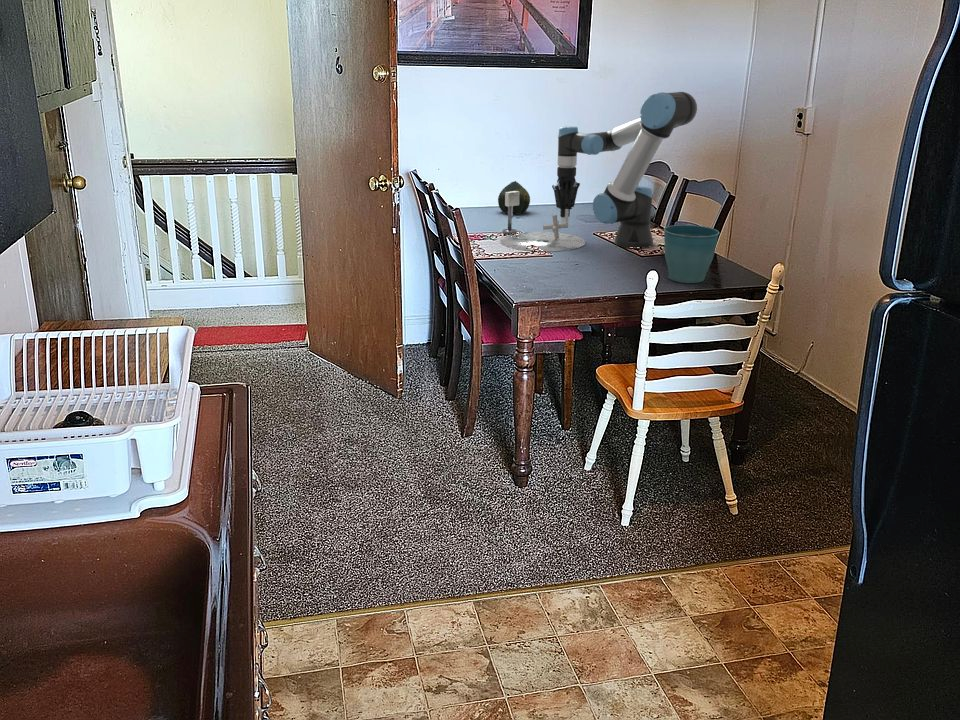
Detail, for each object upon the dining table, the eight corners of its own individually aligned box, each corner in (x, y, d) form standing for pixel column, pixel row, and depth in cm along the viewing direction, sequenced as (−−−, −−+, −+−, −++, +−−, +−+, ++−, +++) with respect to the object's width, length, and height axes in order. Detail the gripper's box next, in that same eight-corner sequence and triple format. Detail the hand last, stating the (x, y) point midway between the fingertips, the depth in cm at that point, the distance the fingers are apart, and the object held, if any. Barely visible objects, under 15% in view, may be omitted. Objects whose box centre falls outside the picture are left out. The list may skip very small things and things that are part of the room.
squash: (510, 205, 388) (525, 178, 391) (487, 202, 399) (502, 175, 401) (526, 223, 398) (541, 196, 401) (504, 219, 408) (518, 193, 411)
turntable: (602, 244, 341) (603, 243, 341) (536, 255, 323) (536, 254, 323) (548, 229, 367) (548, 228, 367) (484, 239, 349) (484, 238, 349)
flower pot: (705, 272, 301) (710, 224, 295) (721, 286, 284) (726, 236, 278) (654, 272, 301) (658, 224, 295) (667, 286, 284) (671, 236, 278)
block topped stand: (519, 233, 360) (520, 191, 354) (508, 234, 356) (508, 193, 350) (510, 230, 364) (511, 189, 358) (499, 232, 361) (500, 191, 355)
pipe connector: (569, 233, 352) (567, 209, 347) (568, 241, 343) (565, 217, 339) (545, 235, 354) (543, 211, 350) (543, 243, 345) (540, 219, 341)
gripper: (573, 163, 347) (570, 221, 355) (548, 166, 340) (546, 225, 349) (585, 166, 341) (582, 224, 350) (560, 168, 334) (558, 228, 343)
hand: (564, 224), depth 349 cm, fingers closed
